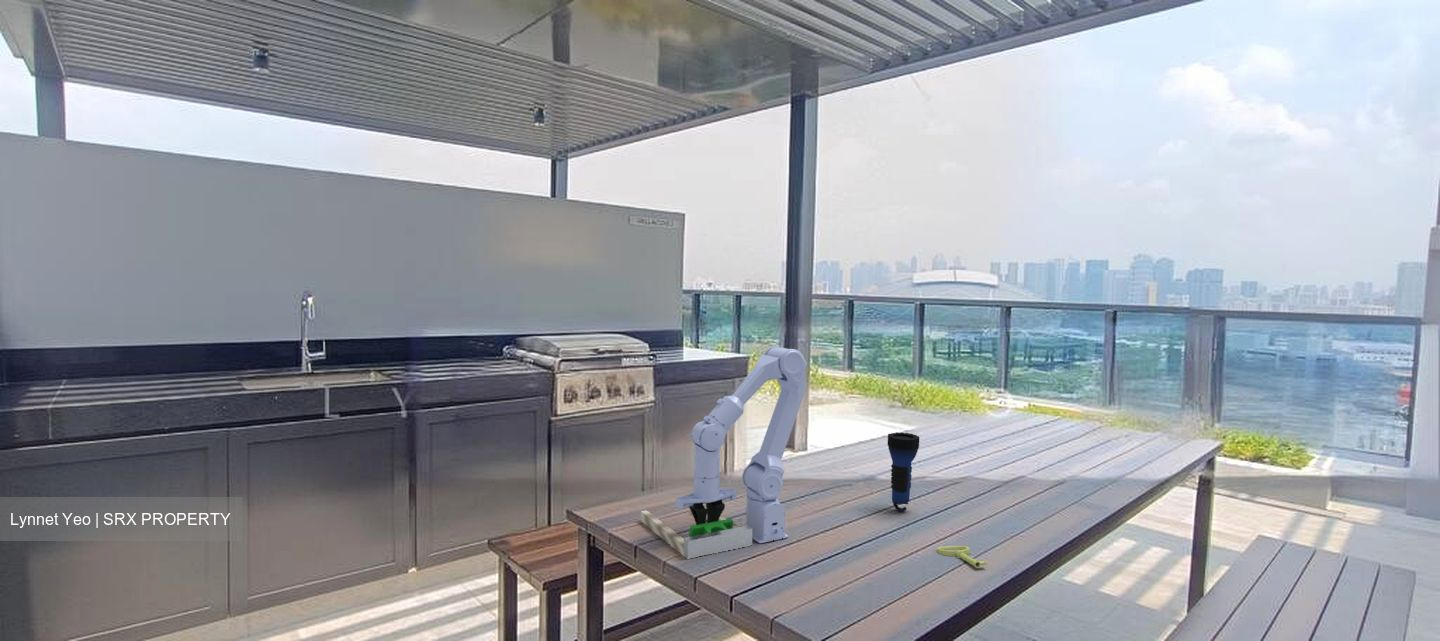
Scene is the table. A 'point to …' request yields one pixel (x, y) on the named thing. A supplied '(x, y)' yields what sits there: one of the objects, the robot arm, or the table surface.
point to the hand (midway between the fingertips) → (706, 534)
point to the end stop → (717, 541)
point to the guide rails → (667, 530)
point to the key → (960, 554)
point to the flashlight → (902, 465)
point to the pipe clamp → (710, 527)
